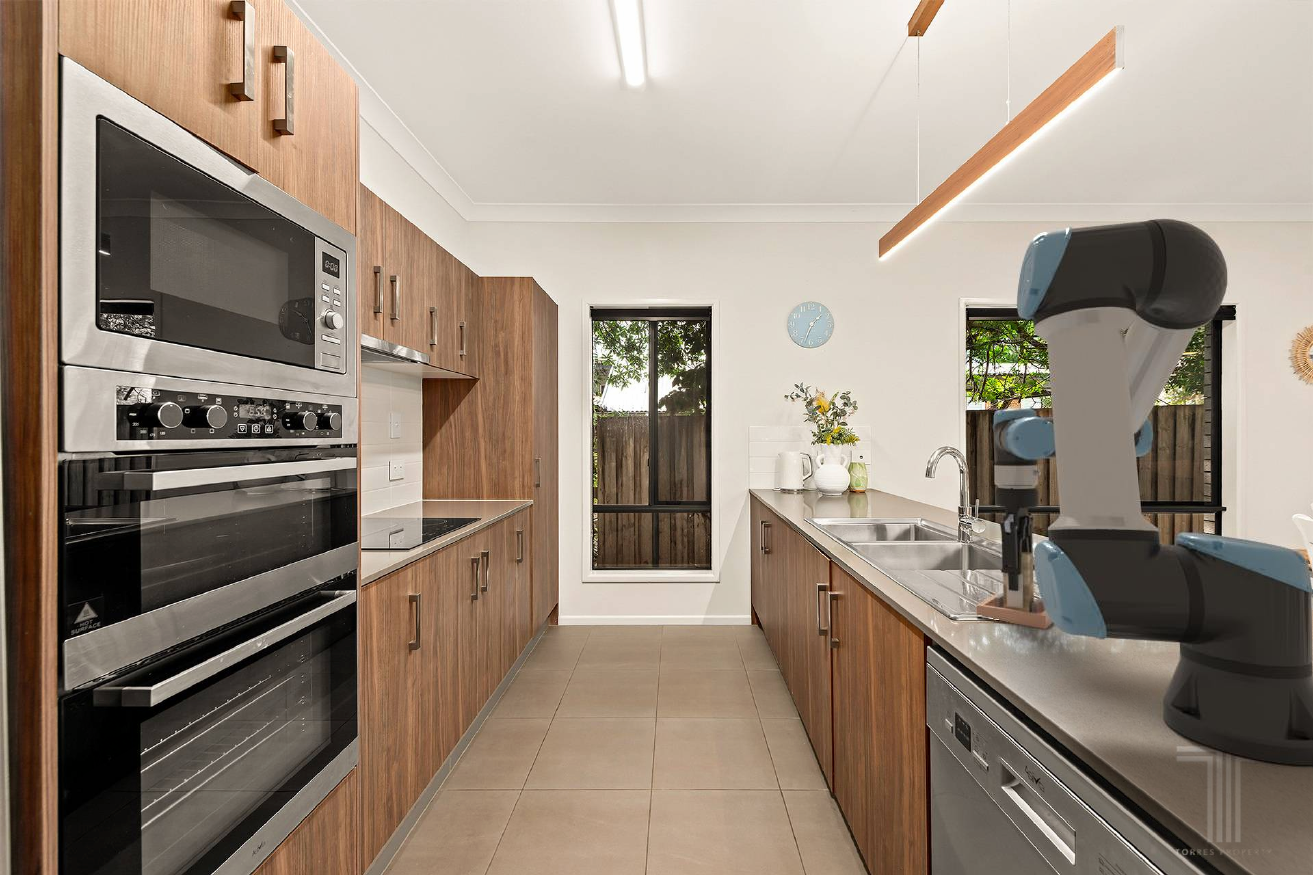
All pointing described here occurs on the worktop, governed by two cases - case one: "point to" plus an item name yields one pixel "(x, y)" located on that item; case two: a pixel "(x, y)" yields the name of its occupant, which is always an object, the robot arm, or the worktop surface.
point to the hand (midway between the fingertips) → (1018, 603)
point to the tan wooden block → (1027, 583)
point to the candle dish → (1014, 612)
